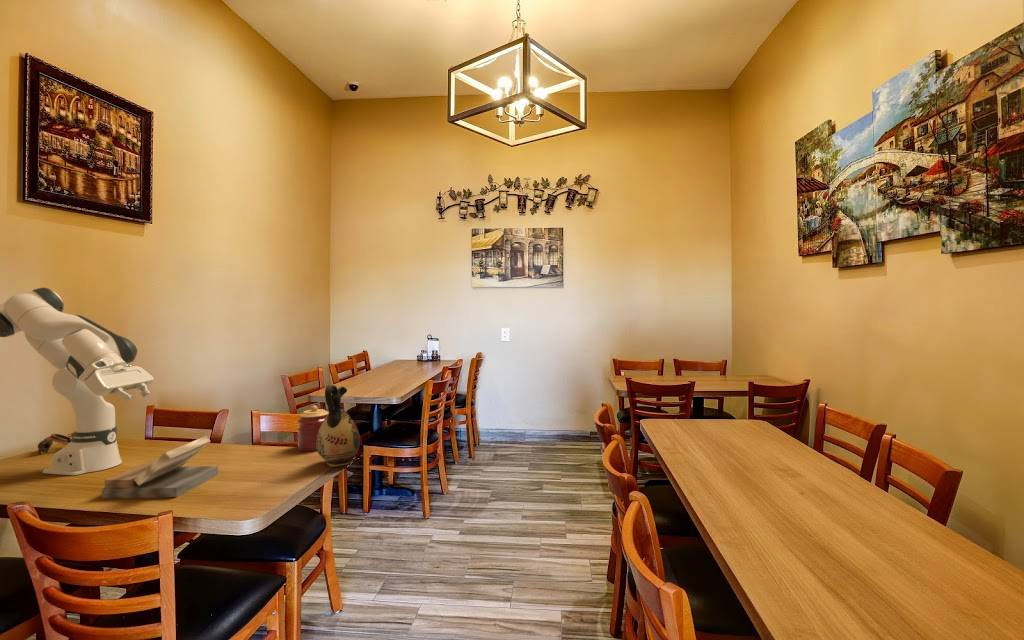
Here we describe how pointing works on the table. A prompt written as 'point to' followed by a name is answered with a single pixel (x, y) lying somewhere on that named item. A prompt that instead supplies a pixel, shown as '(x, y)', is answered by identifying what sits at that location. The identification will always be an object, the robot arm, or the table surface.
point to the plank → (171, 460)
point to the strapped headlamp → (48, 441)
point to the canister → (310, 428)
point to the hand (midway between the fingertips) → (139, 397)
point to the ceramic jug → (337, 431)
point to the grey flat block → (157, 482)
